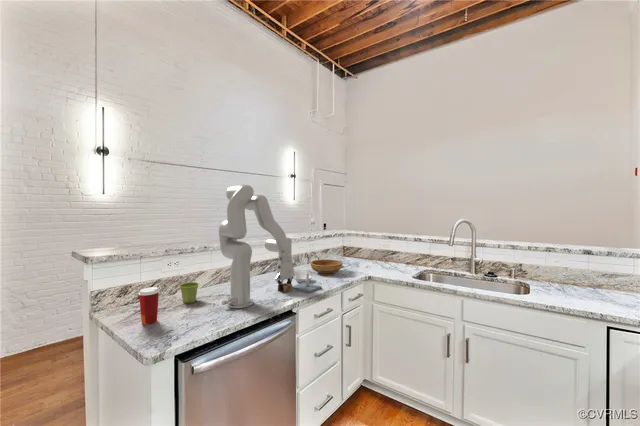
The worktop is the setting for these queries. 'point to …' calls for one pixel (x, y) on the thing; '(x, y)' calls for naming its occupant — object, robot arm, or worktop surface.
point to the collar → (286, 288)
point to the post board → (306, 286)
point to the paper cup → (149, 305)
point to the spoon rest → (300, 276)
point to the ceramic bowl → (326, 266)
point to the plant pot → (189, 291)
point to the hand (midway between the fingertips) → (285, 289)
